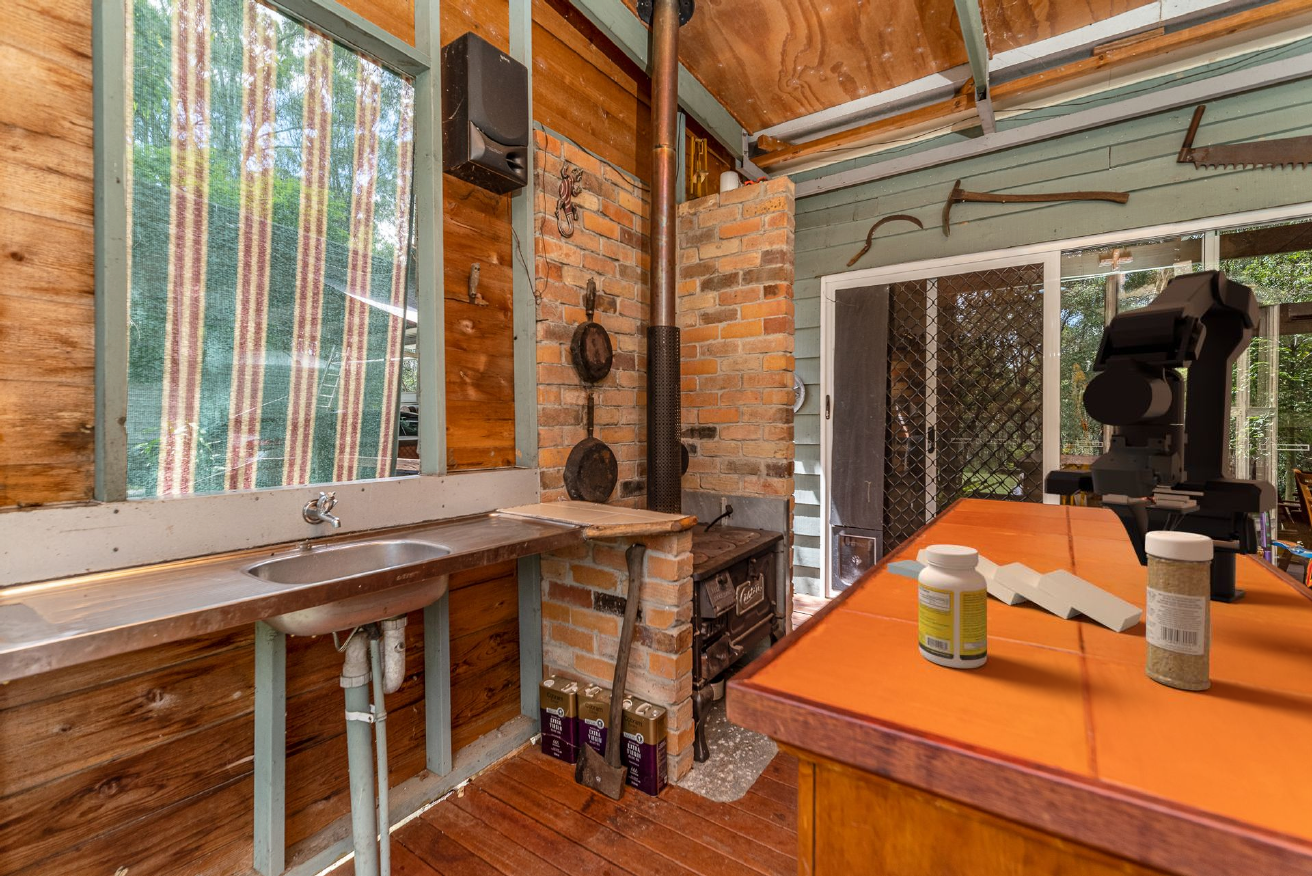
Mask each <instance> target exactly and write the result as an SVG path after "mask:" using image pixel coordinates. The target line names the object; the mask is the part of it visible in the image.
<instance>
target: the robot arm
mask: <svg viewBox="0 0 1312 876" xmlns="http://www.w3.org/2000/svg"><path fill="white" fill-rule="evenodd" d="M1257 300H1258V299H1257V298H1256V296H1255V293H1254V291H1253V289H1252V288H1251V287H1250V286H1247V285H1245V284H1242V283H1239V282H1237V281H1234V280H1231V279H1229V278H1227V275H1226V274H1225V271H1224V270H1223V269H1222V270H1221V269H1220V270H1217V269H1215V268H1213V269H1208V270H1202V271H1201V270H1200V271H1195V272H1189V273H1188V272H1187V273H1183V274H1182V273H1181V274H1177V275H1175V276H1174V277H1172V278H1171V277H1170V278H1168V280H1167V284H1166V287H1165V288H1164V289H1163V290H1161V292H1160V293H1159V294H1158V295H1156V297H1154V299H1152V301H1151V302H1149V303H1148V304H1147V305H1146V306H1143V307H1138V308H1133V309H1129V310H1124V311H1122V312H1119V313H1116V314H1115V315H1114V316H1113V317H1112V318H1111V320H1110V322H1109V324H1108V325H1106V326H1105V328H1104V331H1103V334H1102V336H1101V339H1100V342H1099V346H1098V349H1097V353H1096V357H1095V358H1094V359H1095V360H1094V363H1093V365H1092V371H1093V373H1097V375H1095V376H1094V377H1093V378H1092V379H1091V380H1090V381H1089V382H1088V383H1087V385H1086V387H1085V389H1084V392H1083V394H1082V404H1083V407H1084V409H1085V412H1086V413H1087V414H1088V416H1089V417H1090V418H1092V419H1093V420H1095V421H1096V422H1098V423H1099V424H1102V425H1106V426H1111V427H1115V433H1112V434H1111V438H1110V440H1109V448H1108V451H1106V452H1104V453H1102V454H1101V455H1100V456H1099V457H1098V458H1097V459H1095V460H1094V461H1092V463H1091V464H1090V469H1083V468H1082V469H1078V468H1063V469H1054V470H1053V469H1052V470H1050V471H1049V472H1048V473H1047V474H1046V475H1045V477H1044V482H1043V483H1044V485H1043V487H1044V488H1043V491H1044V492H1043V493H1044V494H1047V495H1056V496H1057V495H1058V496H1068V497H1073V496H1075V495H1076V494H1077V493H1078V492H1083V493H1084V492H1086V493H1095V494H1096V495H1098V496H1102V500H1101V501H1098V503H1099V505H1100V506H1101V507H1104V508H1109V509H1110V510H1111V511H1112V512H1113V513H1114V514H1115V515H1116V516H1117V517H1118V519H1119V520H1120V522H1121V524H1122V525H1123V527H1124V529H1125V531H1126V533H1127V535H1128V539H1129V541H1130V542H1131V545H1132V547H1133V549H1134V552H1135V555H1136V557H1137V560H1138V562H1139V564H1140V566H1142V567H1147V568H1148V557H1147V554H1148V553H1147V552H1146V551H1145V540H1146V534H1147V533H1148V532H1153V531H1174V532H1185V533H1193V534H1199V535H1203V536H1207V537H1209V538H1211V539H1212V540H1213V559H1211V560H1210V561H1211V564H1210V600H1211V599H1212V600H1214V601H1215V600H1216V601H1222V602H1225V603H1227V602H1228V603H1232V602H1234V601H1235V600H1238V599H1239V598H1241V597H1244V596H1245V595H1246V594H1247V592H1246V590H1242V589H1237V588H1236V583H1237V582H1236V577H1237V576H1236V575H1237V573H1236V571H1237V570H1236V569H1237V568H1236V566H1237V554H1239V555H1241V556H1247V555H1258V554H1259V539H1258V538H1259V537H1258V531H1257V525H1256V520H1255V518H1253V516H1251V514H1262V513H1265V512H1268V511H1272V510H1275V509H1277V490H1276V486H1275V485H1273V483H1271V482H1270V481H1269V480H1264V479H1250V478H1249V479H1247V478H1246V479H1245V478H1234V477H1233V478H1232V477H1231V476H1230V474H1229V461H1230V460H1229V457H1230V439H1231V438H1230V434H1231V418H1232V417H1231V414H1232V413H1231V411H1232V392H1233V391H1232V390H1233V372H1234V371H1233V369H1234V364H1235V362H1236V361H1237V360H1238V359H1239V358H1240V357H1241V356H1242V354H1243V353H1245V351H1246V350H1247V349H1248V348H1249V346H1250V345H1252V335H1253V329H1257V328H1258V325H1259V321H1260V308H1259V304H1258V301H1257ZM1177 369H1187V370H1186V381H1185V378H1184V377H1183V374H1182V372H1180V371H1178V370H1177ZM1148 497H1152V498H1153V500H1154V501H1155V503H1154V504H1152V500H1151V499H1150V500H1149V499H1144V498H1148ZM1235 541H1238V543H1237V542H1235Z"/></svg>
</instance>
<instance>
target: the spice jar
mask: <svg viewBox="0 0 1312 876" xmlns="http://www.w3.org/2000/svg"><path fill="white" fill-rule="evenodd" d="M1213 541H1214V540H1212V539H1211V538H1209V537H1207V536H1203V535H1199V534H1193V533H1185V532H1174V531H1153V532H1148V533H1147V534H1146V540H1145V551H1146V552H1147V553H1148V554H1147V557H1148V567H1147V583H1146V616H1145V617H1146V618H1145V620H1146V622H1145V626H1146V627H1145V629H1146V630H1145V640H1146V664H1145V665H1146V666H1145V668H1144V672H1145V674H1146V676H1147V677H1149V678H1150V679H1152V680H1153V681H1156V682H1158V683H1160V684H1161V685H1162V684H1163V685H1165V686H1169V687H1171V688H1174V689H1180V690H1186V691H1187V690H1188V691H1203V690H1208V689H1209V688H1210V687H1211V685H1212V682H1211V679H1210V651H1211V649H1212V648H1211V647H1212V644H1211V643H1212V639H1211V638H1212V616H1211V599H1210V564H1211V561H1210V560H1211V559H1213Z"/></svg>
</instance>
